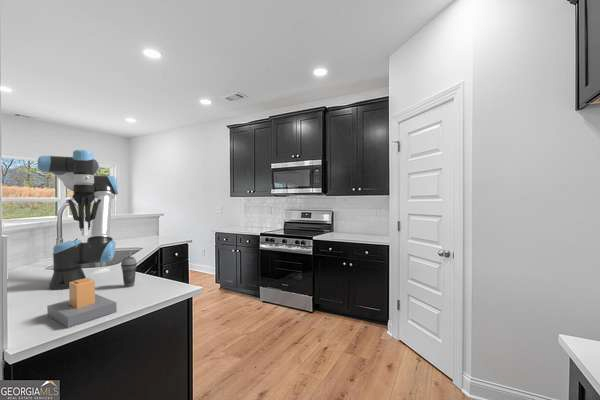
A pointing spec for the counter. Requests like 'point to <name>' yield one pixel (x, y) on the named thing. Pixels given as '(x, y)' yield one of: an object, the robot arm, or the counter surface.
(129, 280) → the beverage cup
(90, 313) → the socket
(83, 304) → the plug
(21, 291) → the counter surface
